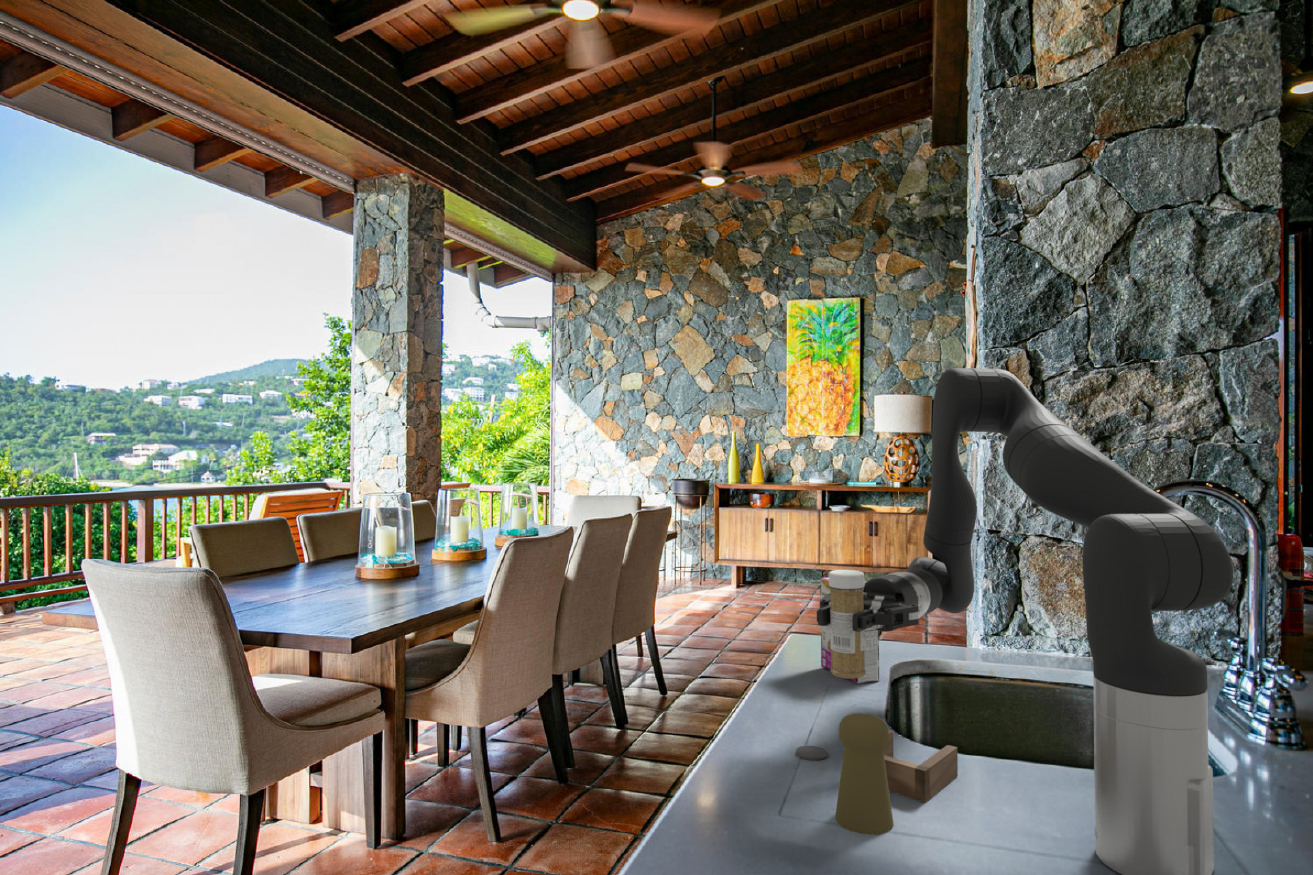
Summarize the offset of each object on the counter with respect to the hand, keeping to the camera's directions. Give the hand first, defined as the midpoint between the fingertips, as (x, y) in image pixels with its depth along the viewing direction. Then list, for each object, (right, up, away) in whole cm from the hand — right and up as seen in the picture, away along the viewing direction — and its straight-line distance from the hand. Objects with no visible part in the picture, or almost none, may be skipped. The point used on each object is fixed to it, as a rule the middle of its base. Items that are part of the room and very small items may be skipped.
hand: (837, 620), depth 100 cm
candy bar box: (+11, -19, +37) cm, 43 cm away
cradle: (+6, -18, -6) cm, 20 cm away
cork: (-1, -18, -17) cm, 24 cm away
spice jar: (+2, -8, +2) cm, 8 cm away
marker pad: (-3, -18, +1) cm, 18 cm away
